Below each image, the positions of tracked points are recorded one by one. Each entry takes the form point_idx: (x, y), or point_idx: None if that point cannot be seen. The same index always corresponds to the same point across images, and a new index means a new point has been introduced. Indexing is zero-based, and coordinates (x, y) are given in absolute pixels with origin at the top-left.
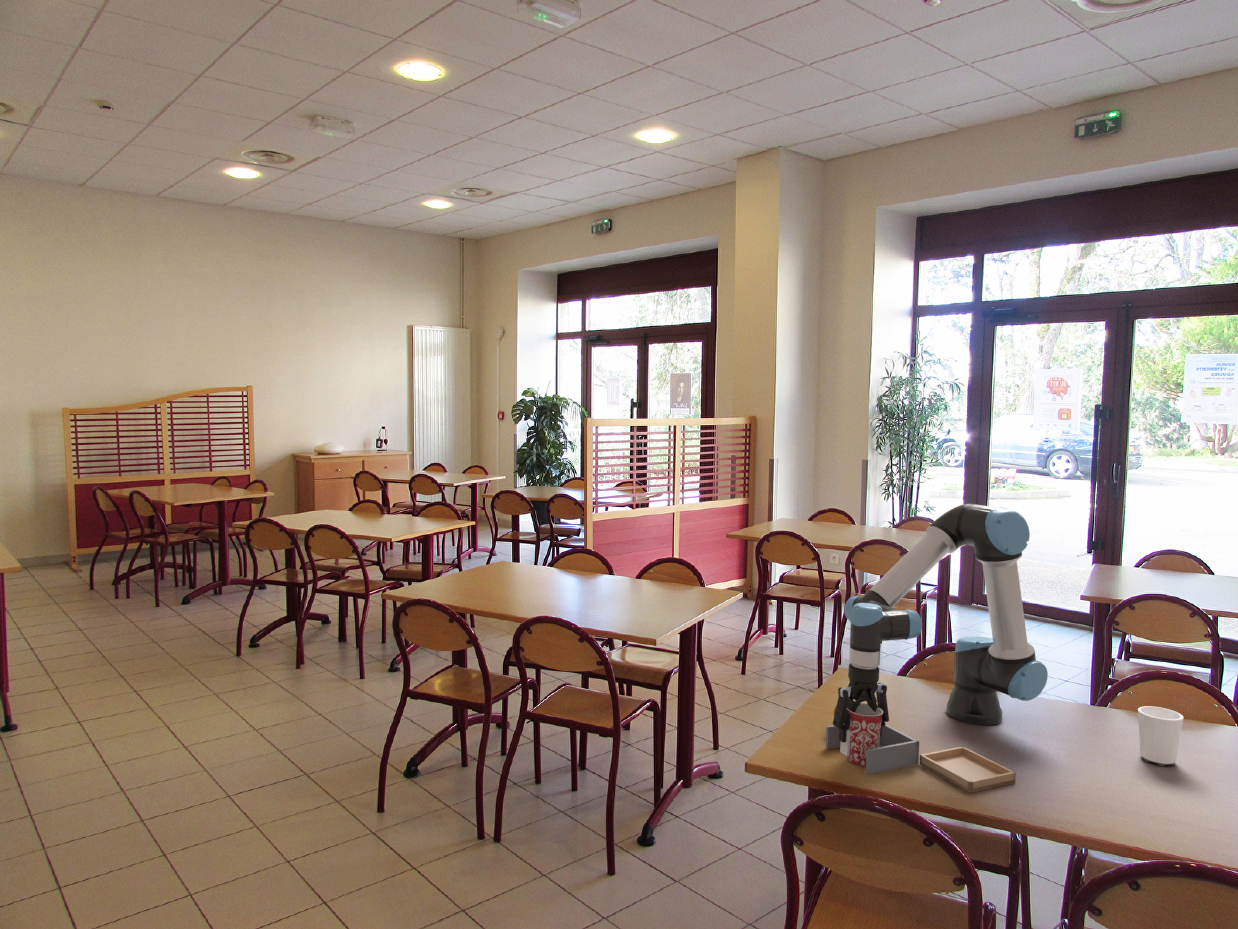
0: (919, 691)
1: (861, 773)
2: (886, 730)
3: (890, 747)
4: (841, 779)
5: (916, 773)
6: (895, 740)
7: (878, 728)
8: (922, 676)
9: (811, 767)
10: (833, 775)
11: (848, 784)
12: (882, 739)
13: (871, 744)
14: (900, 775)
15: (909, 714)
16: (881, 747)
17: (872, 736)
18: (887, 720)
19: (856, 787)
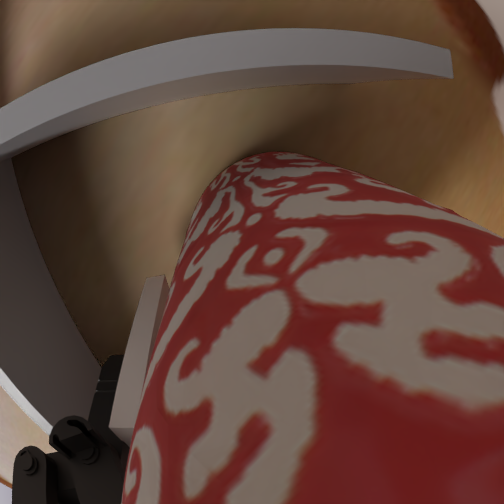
0: (3, 470)
1: (368, 94)
2: (56, 406)
3: (152, 46)
4: (465, 88)
5: (50, 41)
6: (25, 329)
7: (309, 297)
8: (5, 482)
9: (485, 220)
10: (472, 132)
11: (461, 42)
12: (84, 378)
13: (337, 173)
14: (153, 15)
15: (7, 444)
16: (285, 49)
17: (391, 193)
18: (27, 459)
19: (446, 8)
